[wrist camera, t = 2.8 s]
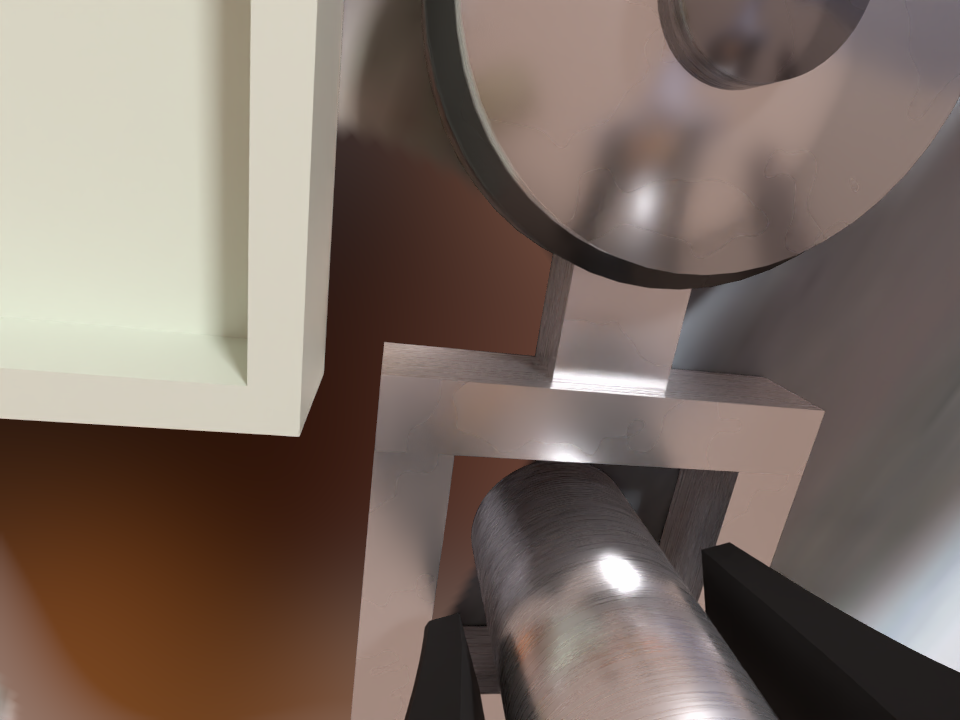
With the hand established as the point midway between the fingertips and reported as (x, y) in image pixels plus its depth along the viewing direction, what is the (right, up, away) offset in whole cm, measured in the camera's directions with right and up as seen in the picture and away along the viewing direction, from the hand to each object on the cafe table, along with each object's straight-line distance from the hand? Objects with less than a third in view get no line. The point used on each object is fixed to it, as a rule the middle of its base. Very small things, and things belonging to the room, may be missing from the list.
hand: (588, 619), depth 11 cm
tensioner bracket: (0, +6, +1) cm, 6 cm away
